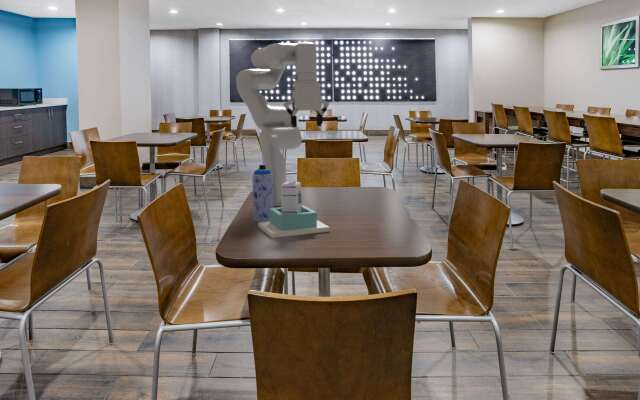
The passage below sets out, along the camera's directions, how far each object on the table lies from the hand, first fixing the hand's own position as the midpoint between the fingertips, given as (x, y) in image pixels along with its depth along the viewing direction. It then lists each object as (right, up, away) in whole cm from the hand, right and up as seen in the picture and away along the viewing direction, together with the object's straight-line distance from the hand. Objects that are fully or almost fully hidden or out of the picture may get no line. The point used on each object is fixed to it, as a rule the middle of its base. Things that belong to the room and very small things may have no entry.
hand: (306, 126), depth 197 cm
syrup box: (-5, -36, -13) cm, 38 cm away
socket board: (-4, -37, -13) cm, 39 cm away
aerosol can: (-16, -34, +1) cm, 38 cm away
